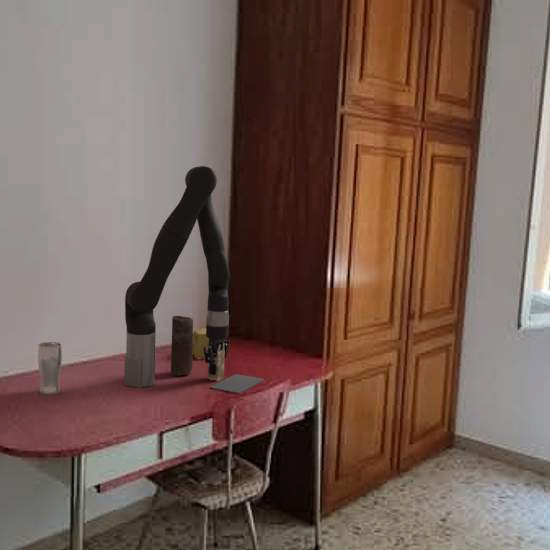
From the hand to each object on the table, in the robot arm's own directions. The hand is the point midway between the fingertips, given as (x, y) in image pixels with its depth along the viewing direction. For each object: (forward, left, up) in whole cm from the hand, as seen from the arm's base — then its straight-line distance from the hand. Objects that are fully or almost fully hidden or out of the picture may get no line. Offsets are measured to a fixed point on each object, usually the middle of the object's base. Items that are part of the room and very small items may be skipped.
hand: (215, 372), depth 242 cm
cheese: (+25, +18, -3) cm, 31 cm away
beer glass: (-40, +36, -2) cm, 54 cm away
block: (0, 0, -2) cm, 2 cm away
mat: (-1, -9, -2) cm, 9 cm away
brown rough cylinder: (-1, +13, -3) cm, 13 cm away
